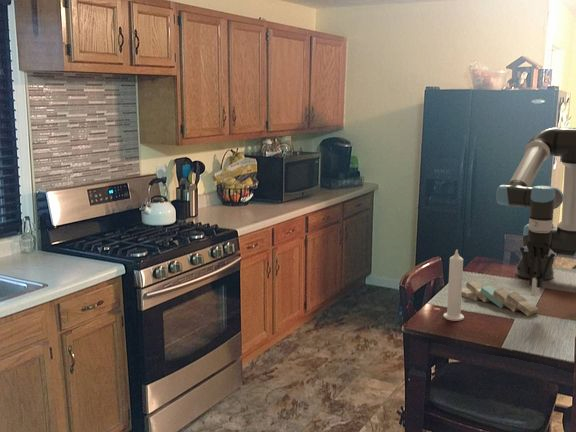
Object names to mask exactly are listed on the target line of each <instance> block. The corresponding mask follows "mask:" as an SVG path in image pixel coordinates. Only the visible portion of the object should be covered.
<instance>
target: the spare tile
mask: <svg viewBox="0 0 576 432" xmlns="http://www.w3.org/2000/svg"><path fill="white" fill-rule="evenodd" d="M495 290H497V289H496V288H495V287H494V286H492V285H491V284H489V285H486V286H484V287H482V289H481V291H480V293H482V294H483V295H484V296H486V297H487V298H488V299H490V300H491V301H490V302H492V303H493V304H495V305H496V306H498V308H500V309H502V308H506V307H507V306H506V305H504V304H503V303H502V302H500V301H499V300H498V299H497V298H495V297H494V296H493V293H494V291H495Z"/></svg>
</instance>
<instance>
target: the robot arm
mask: <svg viewBox="0 0 576 432" xmlns="http://www.w3.org/2000/svg"><path fill="white" fill-rule="evenodd" d="M524 149H525V150H524V152H525V153H524V154H523V157H522V159H521V160H520V163H519V164H518V166H517V168H516V170H515V172H514V173H513V175H512V176H511V179H510V181H509V182H508V184H501V185H500V184H499V185H498V187H497V190H496V192H495V193H496V194H495V199H496V203H497V204H499V205H500V206H501V205H503V206H507V207H517V208H528V209H529V217H528V218H529V219H528V223H527V224H526V225H524V227H523V233H522V246H521V247H520V248H519V250H520V252H521V257H520V259H519V262H518V264H517V266H516V270H515V274H516V276H518V277H519V278H523V279H527V280H528V279H529V285H530V286H531V291H530V292H531V294H530V296H531V297H535V298H536V297H538V296H540V289H541V288H542V287H543V281H548V280H552V279H553V278H554V275H555V271H554V268H553V264H554V262H555V260H556V258H557V257H558V256H561V257H567V258H572V259H576V127H556V126H554V127H548V128H547V129H544V130H541V131H540V132H538V133H537V134H535V135H534V136H533V137H532V138H531V139H529V141H528V142H527V144H526V146H525V148H524ZM549 157H560V162H561V164H563V166H564V173H563V191H562V190H560V189H559V188H557V187H553V186H549V185H536V186H535V185H534V186H532V184H533V182H534V180H535V178H536V176H538V175H537V174H538V173H539V171H540V169H541V167H542V165H543V164H544V162H545V161H546V160H548V159H549ZM561 205H562V208H561V221H560V222H559V223H558V224H557V227H555V226H554V224H553V222H554V220H553V219H554V210H555V209H558V208H559V207H560V206H561Z"/></svg>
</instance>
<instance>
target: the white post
mask: <svg viewBox="0 0 576 432" xmlns="http://www.w3.org/2000/svg"><path fill="white" fill-rule="evenodd" d="M463 268H464V258H463V257H462V256H460V254H459V250H458V249H456V250H455V251H454V255H452V256H450V257H449V268H448V269H449V270H448V291H447V311H446V312H444V313H443V319H445V320H448V321H451V322H460V321H463V320H464V318H465V316H464V315H463V314H462V313H461V311H462V308H461V307H462V296H461V293H462V288H463Z"/></svg>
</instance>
